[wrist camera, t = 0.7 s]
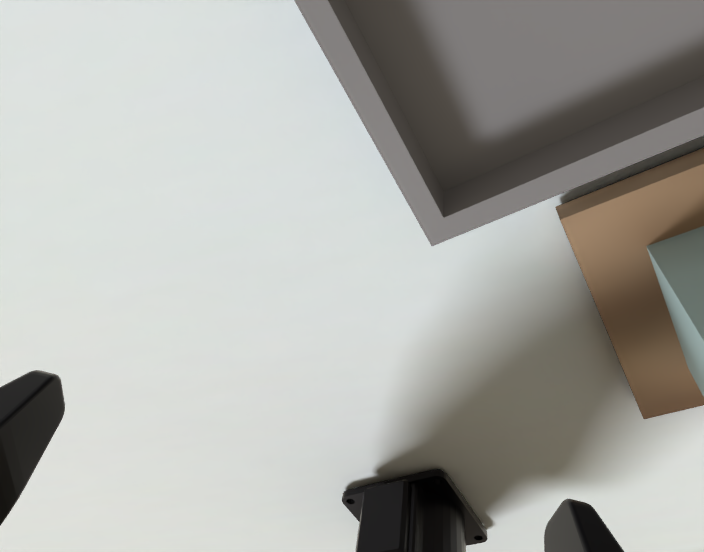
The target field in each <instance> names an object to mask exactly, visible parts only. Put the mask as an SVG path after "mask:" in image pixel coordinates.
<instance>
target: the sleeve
mask: <svg viewBox="0 0 704 552" xmlns="http://www.w3.org/2000/svg"><path fill="white" fill-rule="evenodd" d="M646 247H647V250H648V252H649V255H650V258H651V261H652V264H653V267H654V270H655V273H656V276H657V279H658V281H659V284H660V287H661V290H662V293H663V296H664V299H665V302H666V305H667V308H668V311H669V313H670V316H671V319H672V322H673V325H674V328H675V331H676V334H677V337H678V340H679V343H680V345H681V348H682V351H683V354H684V357H685V360H686V363H687V366H688V369H689V371H690V372H691V374H692V376H693V378H694V380H695V382H696V384H697V385H698V387H699V389H700V391H701V393H702V395H703V397H704V226H702V227H699V228H697V229H694V230H691V231H688V232H685V233H682V234H679V235H677V236H674V237H671V238H668V239H665V240H662V241H659V242H657V243H654V244H651V245H648V246H646Z"/></svg>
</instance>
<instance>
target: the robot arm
mask: <svg viewBox="0 0 704 552" xmlns="http://www.w3.org/2000/svg"><path fill="white" fill-rule="evenodd" d="M64 411H65V403H64V397H63V391H62V384H61V379H60V378H59V376H58V375H56V374H52V373H48V372H44V371H39V370H36V371H32V372H29V373H27V374H25V375H23V376H21V377H19V378H17V379H15V380H13V381H11V382H9V383H7V384H6V385H4V386H2V387H0V525H1V524H2V523H3V521H4V520H5V518H6V517H7V515H8V514H9V512H10V511H11V509H12V508H13V506H14V505H15V503H16V502H17V500H18V498H19V497H20V495H21V493H22V491H23V490H24V488H25V486H26V484H27V483H28V481H29V479H30V477H31V475H32V473H33V472H34V470H35V468H36V466H37V464H38V462H39V460H40V459H41V457H42V455H43V453H44V451H45V449H46V448H47V446H48V444H49V442H50V440H51V438H52V437H53V435H54V433H55V431H56V429H57V427H58V426H59V424H60V422H61V420H62V418H63V415H64ZM342 502H343V504H344V505H345V506H346V507H347V508H348V509H349V510H350V512H351V513H352V514H353V515H354V516H355V517H356V518H357V520H358V521H359V522H360V523H359V530H358V537H357V545H356V552H466V545H472V544H477V543H483V542H485V541H486V540H487V531H486V529H485V528H484V526H483V525H482V523H481V522H480V521H479V519H478V518H477V516H476V515H475V513H474V512H473V511H472V509H471V508H470V506H469V505H468V503H467V502H466V501H465V499H464V498H463V496H462V495H461V494H460V492H459V491H458V489H457V488H456V486H455V485H454V484H453V482H452V481H451V479H450V478H449V477H448V475H447V474H446V473H445V472H444V471H442V470H438V469H437V470H431V471H427V472H422V473H418V474H414V475H410V476H406V477H401V478H397V479H393V480H389V481H384V482H380V483H376V484H372V485H367V486H363V487H359V488H355V489H350V490H347V491H344V493H343V497H342ZM544 544H545V552H624V551H623V549H622V548H621V546H620V545H619V544H618V542H617V541H616V539H615V538H614V536H613V535H612V534H611V532H610V531H609V529H608V528H607V526H606V525H605V524H604V522H603V521H602V519H601V518H600V516H599V515H598V514H597V512H596V511H595V509H594V508H593V507H592V506H591V505H589V504H587V503H585V502H580V501H576V500H572V499H566V500H564V501H563V502H562V503H561V505H560V506H559V508H558V509H557V511H556V512H555V513H554V515H553V516H552V518H551V519H550V521H549V522H548V524H547V526H546V529H545V536H544Z"/></svg>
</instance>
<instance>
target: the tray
mask: <svg viewBox="0 0 704 552" xmlns="http://www.w3.org/2000/svg"><path fill="white" fill-rule="evenodd" d="M295 2H296V4H297V6H298V8H299V9H300V11H301V13H302V15H303V17H304V18H305V20H306V22H307V24H308V25H309V27H310V29H311V31H312V33H313V34H314V36H315V38H316V40H317V42H318V43H319V45H320V47H321V49H322V51H323V52H324V54H325V56H326V58H327V59H328V61H329V63H330V65H331V67H332V68H333V70H334V72H335V74H336V76H337V77H338V79H339V81H340V83H341V85H342V86H343V88H344V90H345V92H346V93H347V95H348V97H349V99H350V101H351V102H352V104H353V106H354V108H355V110H356V111H357V113H358V115H359V117H360V119H361V120H362V122H363V124H364V126H365V127H366V129H367V131H368V133H369V135H370V136H371V138H372V140H373V142H374V144H375V145H376V147H377V149H378V151H379V152H380V154H381V156H382V158H383V160H384V161H385V163H386V165H387V167H388V169H389V170H390V172H391V174H392V176H393V178H394V179H395V181H396V183H397V185H398V186H399V188H400V190H401V192H402V194H403V195H404V197H405V199H406V201H407V203H408V204H409V206H410V208H411V210H412V212H413V213H414V215H415V217H416V219H417V220H418V222H419V224H420V226H421V228H422V229H423V231H424V233H425V235H426V237H427V238H428V240H429V242H430V244H431V246H434V245H436V244H439V243H441V242H444V241H446V240H448V239H451V238H453V237H456V236H458V235H461V234H463V233H466V232H468V231H471V230H473V229H475V228H478V227H480V226H483V225H485V224H488V223H490V222H493V221H495V220H497V219H500V218H502V217H505V216H507V215H510V214H512V213H515V212H517V211H520V210H522V209H524V208H527V207H529V206H532V205H534V204H537V203H539V202H542V201H544V200H547V199H549V198H551V197H554V196H556V195H559V194H561V193H564V192H566V191H569V190H571V189H574V188H576V187H578V186H581V185H583V184H586V183H588V182H591V181H593V180H596V179H598V178H601V177H603V176H605V175H608V174H610V173H613V172H615V171H618V170H620V169H623V168H625V167H628V166H630V165H632V164H635V163H637V162H640V161H642V160H645V159H647V158H650V157H652V156H655V155H657V154H659V153H662V152H664V151H667V150H669V149H672V148H674V147H677V146H679V145H682V144H684V143H686V142H689V141H691V140H694V139H696V138H699V137H701V136H704V0H295Z"/></svg>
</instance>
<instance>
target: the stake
mask: <svg viewBox="0 0 704 552" xmlns="http://www.w3.org/2000/svg"><path fill="white" fill-rule="evenodd" d="M556 210H557V213H558V215H559V218H560V220H561V223H562V225H563V228H564V230H565V232H566V235H567V237H568V240H569V242H570V244H571V247H572V249H573V251H574V254H575V256H576V259H577V261H578V263H579V266H580V268H581V271H582V273H583V275H584V278H585V280H586V282H587V285H588V287H589V290H590V292H591V294H592V297H593V299H594V302H595V304H596V306H597V309H598V311H599V313H600V316H601V318H602V321H603V323H604V325H605V328H606V330H607V333H608V335H609V337H610V340H611V342H612V344H613V347H614V349H615V352H616V354H617V356H618V359H619V361H620V364H621V366H622V368H623V371H624V373H625V375H626V378H627V380H628V383H629V385H630V387H631V390H632V392H633V395H634V397H635V399H636V402H637V404H638V406H639V409H640V411H641V414H642V416H643V418H644V419H647V418H651V417H656V416H660V415H664V414H668V413H672V412H677V411H681V410H685V409H689V408H694V407H698V406H702V405H704V397H703V395H702V393H701V391H700V389H699V387H698V385H697V384H696V382H695V380H694V378H693V376H692V374H691V372H690V371H689V369H688V366H687V363H686V360H685V357H684V354H683V351H682V348H681V345H680V343H679V340H678V337H677V334H676V331H675V328H674V325H673V322H672V319H671V316H670V313H669V311H668V308H667V305H666V302H665V299H664V296H663V293H662V290H661V287H660V284H659V281H658V279H657V276H656V273H655V270H654V267H653V264H652V261H651V258H650V255H649V252H648V250H647V247H646V246H648V245H651V244H654V243H657V242H659V241H662V240H665V239H668V238H671V237H674V236H677V235H679V234H682V233H685V232H688V231H691V230H694V229H697V228H699V227H702V226H704V148H702V149H699V150H697V151H694V152H692V153H689V154H687V155H684V156H682V157H679V158H677V159H674V160H672V161H669V162H667V163H664V164H662V165H659V166H657V167H654V168H652V169H649V170H647V171H644V172H642V173H639V174H637V175H634V176H632V177H629V178H627V179H624V180H622V181H619V182H617V183H614V184H612V185H609V186H607V187H604V188H602V189H599V190H597V191H594V192H592V193H589V194H587V195H584V196H582V197H579V198H577V199H574V200H572V201H569V202H567V203H564V204H562V205H559V206H557V207H556Z"/></svg>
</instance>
